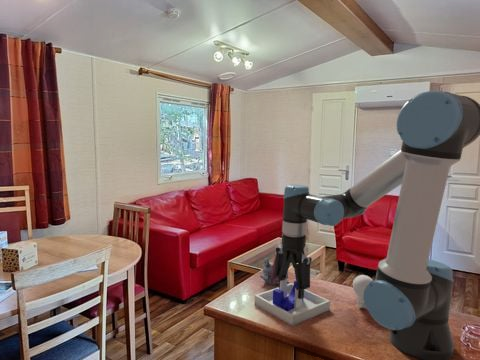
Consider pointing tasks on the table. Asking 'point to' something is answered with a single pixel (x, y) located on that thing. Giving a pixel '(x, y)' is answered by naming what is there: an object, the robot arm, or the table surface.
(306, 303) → the kit tray
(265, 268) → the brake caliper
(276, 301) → the blue curved block
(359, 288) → the light bulb
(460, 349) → the table surface
